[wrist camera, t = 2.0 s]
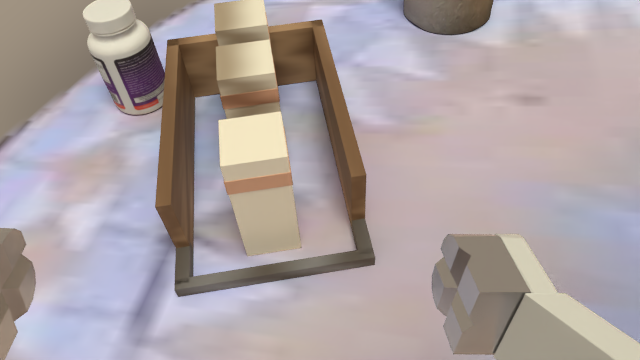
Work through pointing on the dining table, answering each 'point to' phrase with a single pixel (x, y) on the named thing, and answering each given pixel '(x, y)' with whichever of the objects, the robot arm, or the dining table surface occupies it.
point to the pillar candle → (448, 14)
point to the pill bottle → (125, 56)
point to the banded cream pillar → (259, 182)
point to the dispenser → (246, 100)
